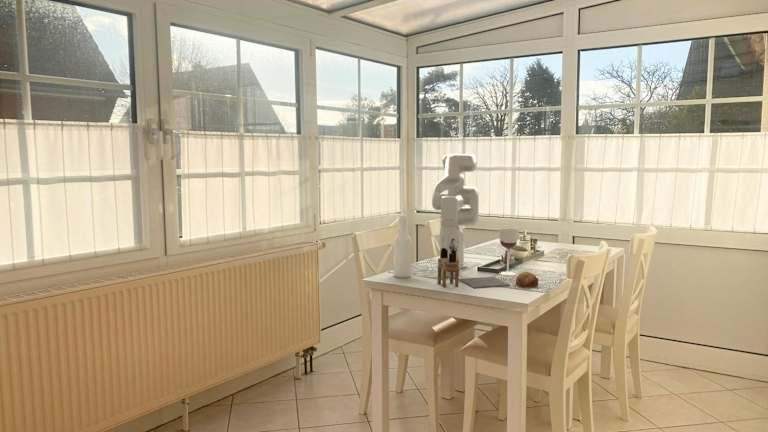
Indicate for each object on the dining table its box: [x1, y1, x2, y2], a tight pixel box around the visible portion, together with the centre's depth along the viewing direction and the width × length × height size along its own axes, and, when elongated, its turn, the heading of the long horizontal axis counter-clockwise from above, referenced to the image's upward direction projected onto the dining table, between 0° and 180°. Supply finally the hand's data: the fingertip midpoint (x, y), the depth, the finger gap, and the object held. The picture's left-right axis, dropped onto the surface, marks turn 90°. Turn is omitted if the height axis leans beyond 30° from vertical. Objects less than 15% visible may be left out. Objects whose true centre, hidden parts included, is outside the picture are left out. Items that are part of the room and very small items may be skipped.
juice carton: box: [439, 229, 462, 278], centre depth 277 cm, size 9×8×24 cm
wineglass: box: [498, 228, 520, 276], centre depth 283 cm, size 9×10×22 cm
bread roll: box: [515, 271, 539, 289], centre depth 259 cm, size 10×10×8 cm
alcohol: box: [393, 214, 413, 279], centre depth 275 cm, size 9×9×30 cm
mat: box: [458, 276, 511, 289], centre depth 263 cm, size 17×18×1 cm
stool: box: [437, 257, 460, 288], centre depth 257 cm, size 7×7×12 cm
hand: (448, 260), depth 256 cm, fingers open, 9 cm apart
